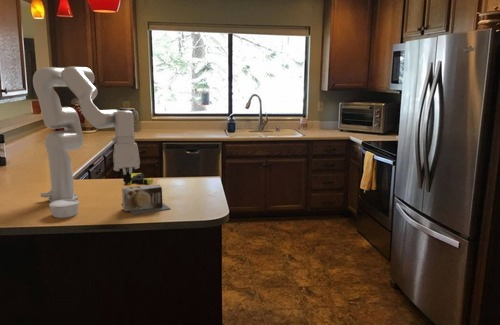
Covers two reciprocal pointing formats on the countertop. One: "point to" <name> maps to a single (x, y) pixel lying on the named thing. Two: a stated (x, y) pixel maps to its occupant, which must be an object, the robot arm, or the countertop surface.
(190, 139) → the countertop surface
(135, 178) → the stun gun
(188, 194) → the countertop surface
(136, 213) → the mat
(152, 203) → the coffee box
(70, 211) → the ramekin
